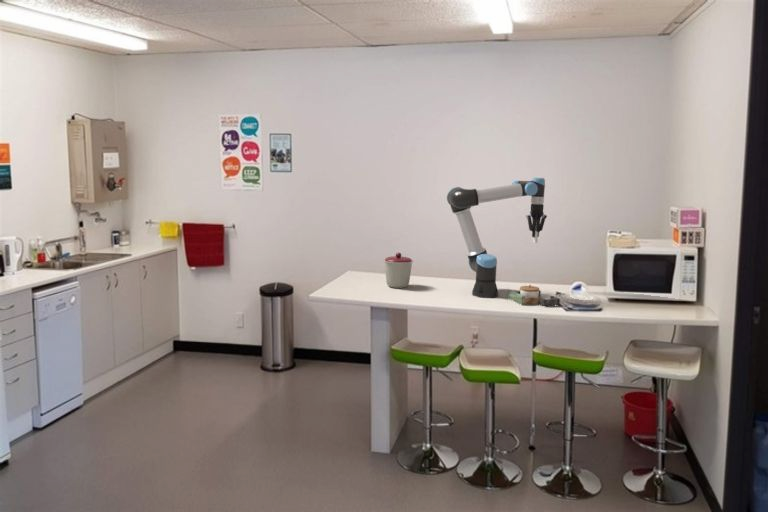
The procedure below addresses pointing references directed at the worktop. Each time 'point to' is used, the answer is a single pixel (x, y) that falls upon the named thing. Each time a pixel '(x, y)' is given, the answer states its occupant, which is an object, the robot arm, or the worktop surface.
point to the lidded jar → (529, 291)
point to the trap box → (532, 299)
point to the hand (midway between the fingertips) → (535, 242)
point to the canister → (398, 271)
